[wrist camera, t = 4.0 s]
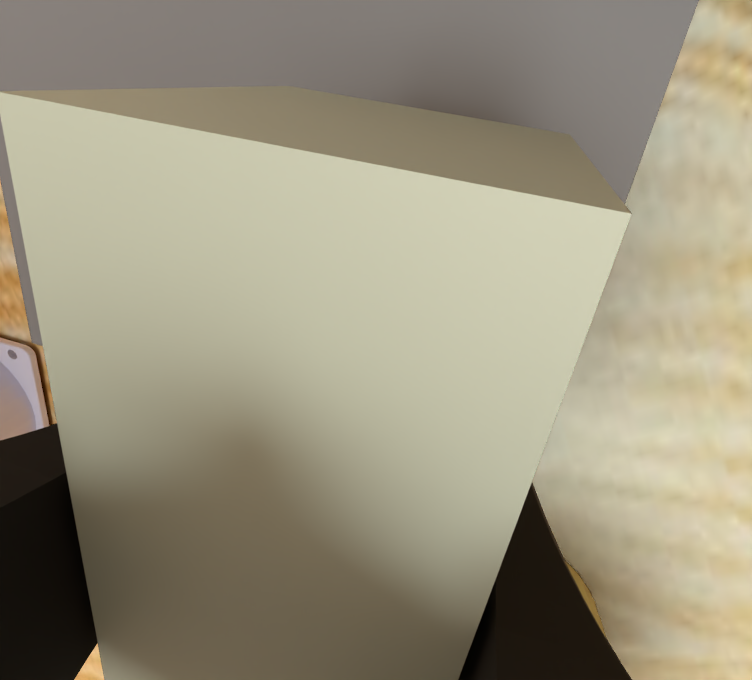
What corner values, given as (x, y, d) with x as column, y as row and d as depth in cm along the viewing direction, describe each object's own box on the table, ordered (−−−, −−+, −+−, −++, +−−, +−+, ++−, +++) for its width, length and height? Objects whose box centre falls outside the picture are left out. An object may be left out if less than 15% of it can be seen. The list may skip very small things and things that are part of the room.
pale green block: (263, 543, 15) (124, 786, 10) (288, 85, 9) (-4, 91, 4) (432, 598, 14) (377, 893, 9) (569, 134, 9) (630, 213, 3)
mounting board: (53, 331, 25) (31, 342, 24) (-35, -183, 16) (-74, -201, 15) (523, 463, 21) (523, 483, 20) (727, -113, 12) (745, -130, 11)
